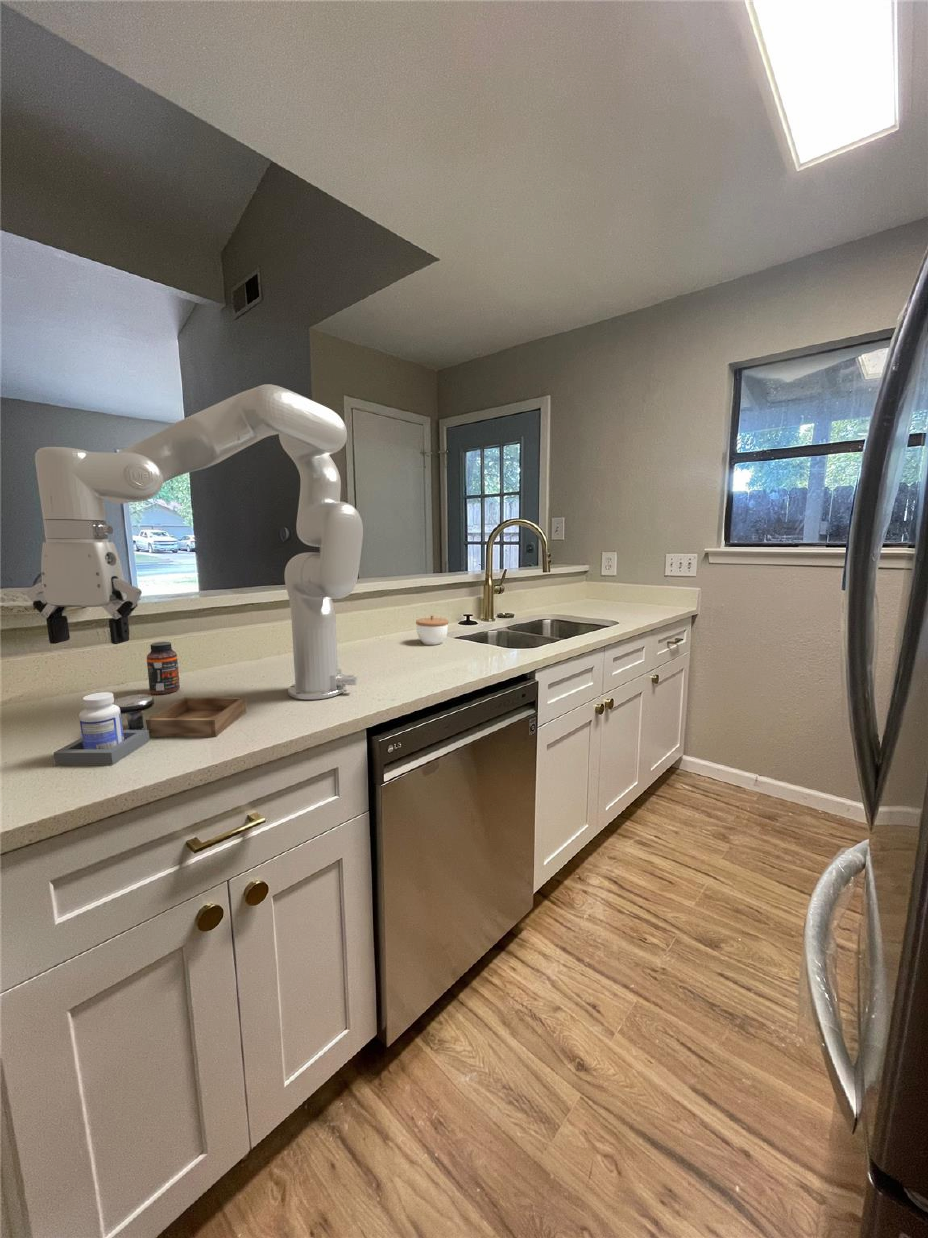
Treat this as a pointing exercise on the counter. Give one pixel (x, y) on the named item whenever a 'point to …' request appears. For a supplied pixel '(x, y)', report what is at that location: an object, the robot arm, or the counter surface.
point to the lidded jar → (432, 630)
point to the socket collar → (101, 750)
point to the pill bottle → (100, 722)
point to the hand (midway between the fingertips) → (90, 642)
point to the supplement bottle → (162, 669)
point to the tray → (196, 717)
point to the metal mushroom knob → (134, 709)
